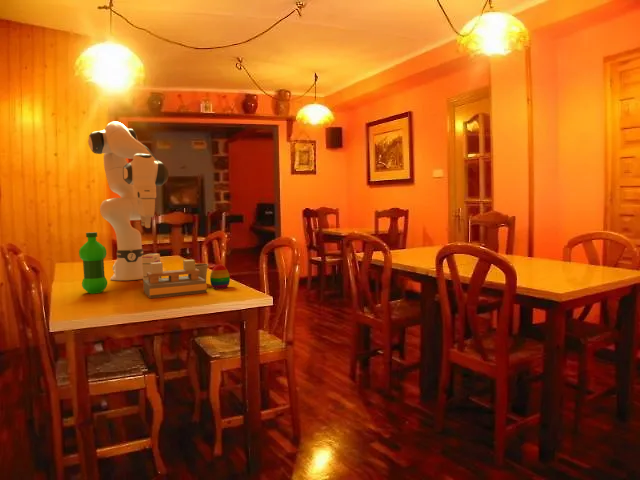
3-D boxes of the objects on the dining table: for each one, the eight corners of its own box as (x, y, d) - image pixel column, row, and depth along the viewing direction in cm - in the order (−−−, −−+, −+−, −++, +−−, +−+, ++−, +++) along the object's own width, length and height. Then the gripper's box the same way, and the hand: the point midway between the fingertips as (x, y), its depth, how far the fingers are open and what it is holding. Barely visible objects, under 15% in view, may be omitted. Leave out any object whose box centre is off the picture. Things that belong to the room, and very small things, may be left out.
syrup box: (155, 288, 230) (153, 254, 229) (143, 288, 232) (141, 254, 230) (162, 286, 236) (160, 253, 235) (149, 286, 237) (148, 253, 236)
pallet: (147, 281, 218) (146, 272, 218) (196, 276, 227) (196, 268, 227) (149, 283, 213) (149, 274, 212) (200, 278, 221) (199, 270, 221)
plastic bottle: (93, 289, 231) (90, 231, 229) (113, 290, 228) (110, 231, 225) (76, 294, 222) (72, 233, 220) (96, 295, 218) (92, 233, 216)
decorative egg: (227, 289, 224) (226, 265, 223) (208, 289, 225) (207, 265, 224) (232, 285, 232) (231, 262, 231) (213, 286, 233) (212, 263, 232)
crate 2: (183, 269, 223) (183, 260, 223) (193, 269, 225) (192, 259, 225) (185, 271, 220) (185, 261, 219) (195, 270, 221) (195, 260, 221)
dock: (144, 292, 223) (143, 280, 222) (197, 286, 232) (196, 275, 232) (150, 298, 208) (149, 285, 207) (206, 292, 217) (206, 280, 217)
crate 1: (150, 272, 218) (150, 262, 217) (161, 271, 219) (160, 261, 219) (152, 273, 214) (152, 263, 214) (162, 272, 216) (162, 263, 215)
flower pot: (183, 285, 236) (182, 266, 235) (195, 282, 244) (194, 263, 244) (201, 286, 232) (201, 266, 232) (213, 283, 241) (212, 263, 240)
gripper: (133, 192, 229) (134, 225, 231) (140, 194, 211) (141, 229, 213) (148, 192, 232) (149, 224, 234) (157, 193, 214) (158, 228, 216)
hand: (145, 226), depth 223 cm, fingers open, 8 cm apart
